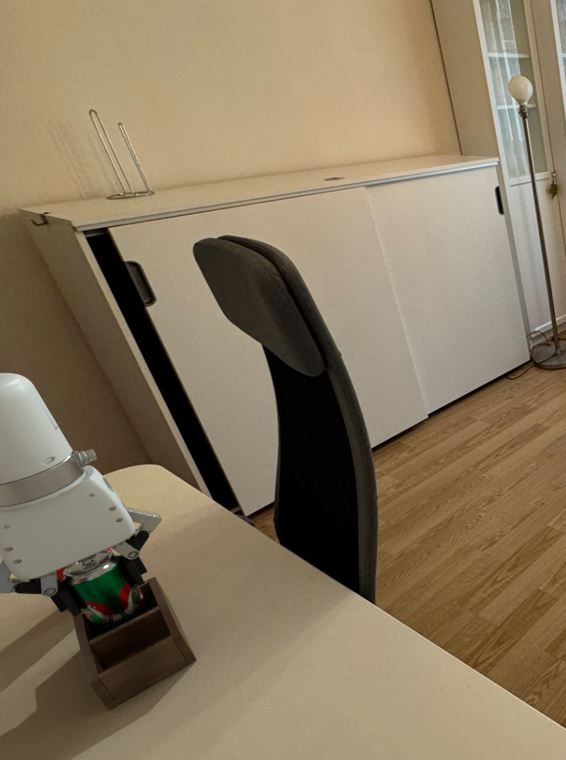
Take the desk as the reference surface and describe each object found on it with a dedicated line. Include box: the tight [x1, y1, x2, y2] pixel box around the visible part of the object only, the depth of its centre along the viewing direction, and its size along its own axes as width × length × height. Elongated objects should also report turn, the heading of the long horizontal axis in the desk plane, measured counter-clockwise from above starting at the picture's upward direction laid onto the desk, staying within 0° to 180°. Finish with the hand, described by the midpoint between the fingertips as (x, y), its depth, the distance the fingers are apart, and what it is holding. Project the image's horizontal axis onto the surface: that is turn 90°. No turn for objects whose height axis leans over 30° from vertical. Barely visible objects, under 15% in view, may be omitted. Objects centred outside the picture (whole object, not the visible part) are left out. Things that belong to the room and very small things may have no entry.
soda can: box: [63, 550, 153, 635], centre depth 71 cm, size 5×5×12 cm
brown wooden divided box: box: [71, 576, 197, 711], centre depth 71 cm, size 8×15×5 cm, turn 52°
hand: (108, 593), depth 70 cm, fingers closed on soda can, 5 cm apart
